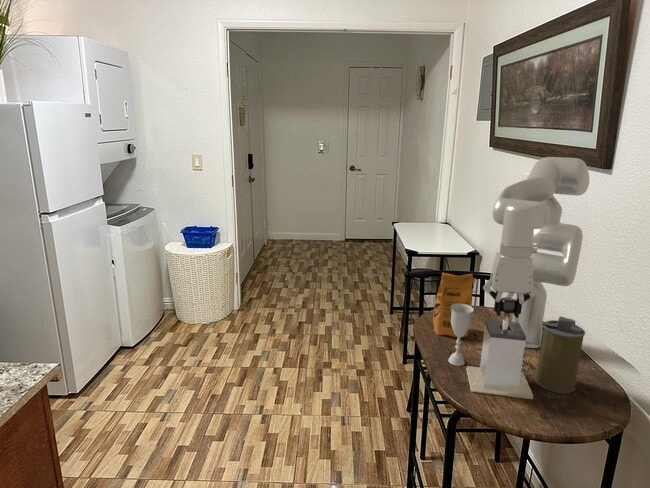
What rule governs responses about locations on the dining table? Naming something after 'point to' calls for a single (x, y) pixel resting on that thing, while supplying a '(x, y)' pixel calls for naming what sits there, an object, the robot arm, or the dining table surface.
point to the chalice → (459, 328)
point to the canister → (559, 355)
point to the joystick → (501, 362)
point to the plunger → (507, 310)
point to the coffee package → (451, 301)
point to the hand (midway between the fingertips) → (506, 314)
